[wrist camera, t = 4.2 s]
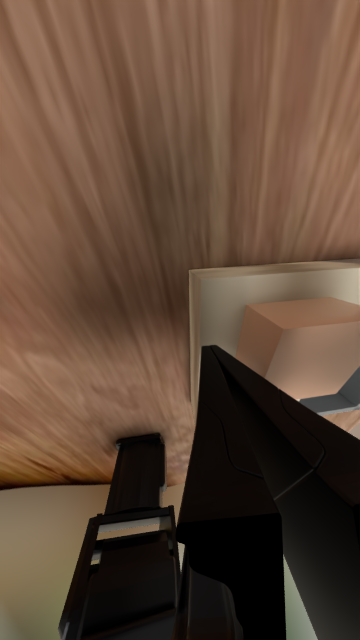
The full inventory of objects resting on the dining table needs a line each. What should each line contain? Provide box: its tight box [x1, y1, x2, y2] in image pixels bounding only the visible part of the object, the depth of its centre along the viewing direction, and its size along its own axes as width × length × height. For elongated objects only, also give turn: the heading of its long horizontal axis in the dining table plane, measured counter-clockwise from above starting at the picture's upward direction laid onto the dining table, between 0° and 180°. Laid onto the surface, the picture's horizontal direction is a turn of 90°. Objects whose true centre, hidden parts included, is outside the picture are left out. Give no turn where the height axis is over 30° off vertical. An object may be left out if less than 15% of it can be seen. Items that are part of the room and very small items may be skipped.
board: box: [189, 261, 360, 426], centre depth 12 cm, size 10×16×4 cm, turn 3°
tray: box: [299, 258, 360, 416], centre depth 12 cm, size 9×16×4 cm, turn 3°
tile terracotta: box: [235, 297, 360, 400], centre depth 7 cm, size 5×5×2 cm
